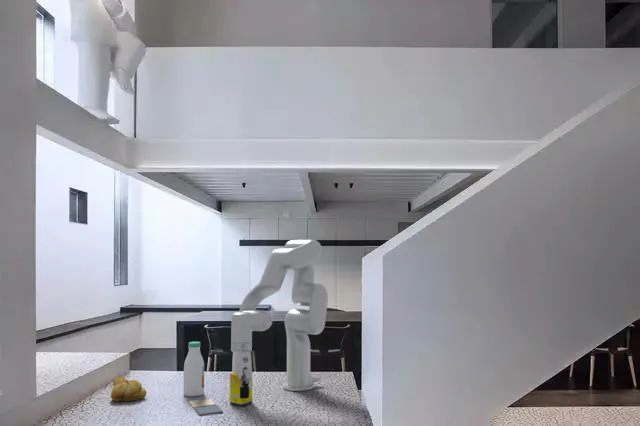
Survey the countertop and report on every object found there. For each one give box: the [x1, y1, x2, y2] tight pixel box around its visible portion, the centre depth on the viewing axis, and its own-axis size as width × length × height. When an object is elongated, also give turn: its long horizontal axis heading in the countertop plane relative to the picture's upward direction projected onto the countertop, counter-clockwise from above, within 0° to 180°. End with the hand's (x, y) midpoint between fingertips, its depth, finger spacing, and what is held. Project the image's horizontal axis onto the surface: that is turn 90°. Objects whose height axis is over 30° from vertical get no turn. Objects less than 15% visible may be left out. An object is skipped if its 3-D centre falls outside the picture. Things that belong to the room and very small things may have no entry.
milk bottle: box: [183, 341, 205, 398], centre depth 214 cm, size 8×8×20 cm
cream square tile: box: [188, 398, 217, 409], centre depth 199 cm, size 8×8×1 cm
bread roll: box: [110, 376, 147, 402], centre depth 206 cm, size 13×10×8 cm
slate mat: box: [194, 404, 224, 417], centre depth 191 cm, size 8×8×1 cm
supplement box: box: [229, 372, 253, 407], centre depth 201 cm, size 6×6×11 cm
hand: (240, 395), depth 200 cm, fingers closed on supplement box, 8 cm apart
